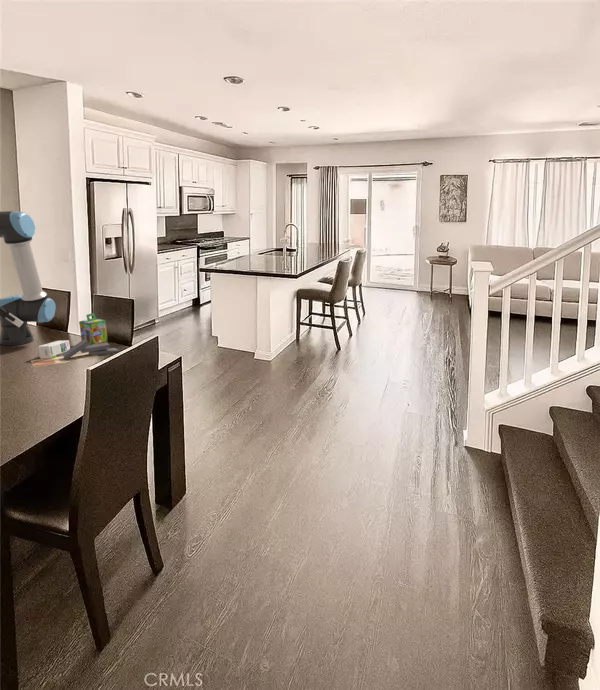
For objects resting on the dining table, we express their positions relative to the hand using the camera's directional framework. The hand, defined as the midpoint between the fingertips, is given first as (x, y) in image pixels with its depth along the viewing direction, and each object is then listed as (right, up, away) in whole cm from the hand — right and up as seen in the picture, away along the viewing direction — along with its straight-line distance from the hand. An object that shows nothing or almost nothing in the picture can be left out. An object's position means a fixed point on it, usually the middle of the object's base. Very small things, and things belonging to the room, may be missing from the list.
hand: (21, 324), depth 220 cm
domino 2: (+18, -11, +16) cm, 26 cm away
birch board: (+13, -16, +13) cm, 24 cm away
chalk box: (+15, -8, +42) cm, 45 cm away
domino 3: (+22, -12, +18) cm, 30 cm away
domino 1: (+13, -14, +12) cm, 22 cm away
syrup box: (+4, -12, +12) cm, 17 cm away
